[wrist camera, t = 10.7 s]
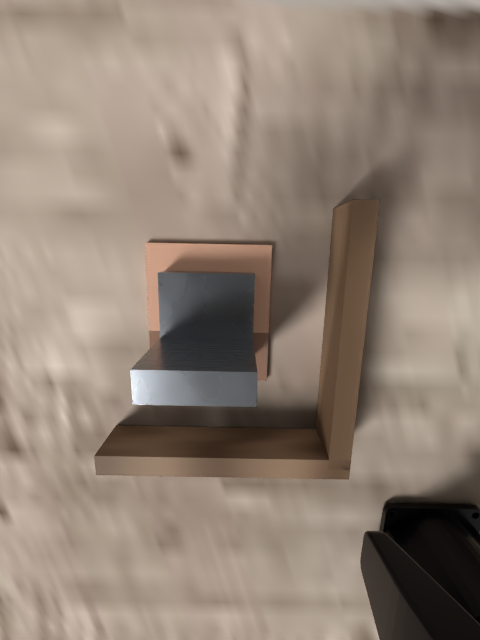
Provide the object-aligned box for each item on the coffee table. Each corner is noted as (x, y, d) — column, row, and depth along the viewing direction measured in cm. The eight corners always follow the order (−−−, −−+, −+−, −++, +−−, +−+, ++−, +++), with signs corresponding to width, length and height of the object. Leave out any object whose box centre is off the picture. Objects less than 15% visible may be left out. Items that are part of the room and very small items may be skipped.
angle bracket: (251, 356, 18) (256, 407, 12) (167, 355, 18) (132, 404, 12) (253, 272, 17) (260, 283, 11) (164, 270, 17) (124, 280, 11)
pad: (271, 245, 17) (272, 245, 17) (266, 378, 19) (266, 380, 18) (146, 243, 17) (144, 242, 17) (152, 376, 19) (151, 378, 18)
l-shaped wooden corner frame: (355, 209, 17) (380, 199, 14) (332, 445, 20) (348, 479, 17) (98, 204, 16) (68, 193, 14) (117, 441, 20) (96, 474, 17)
